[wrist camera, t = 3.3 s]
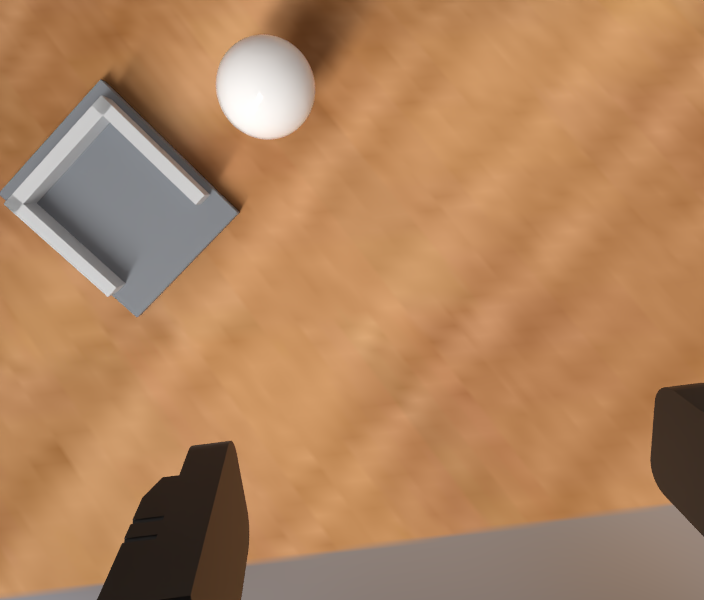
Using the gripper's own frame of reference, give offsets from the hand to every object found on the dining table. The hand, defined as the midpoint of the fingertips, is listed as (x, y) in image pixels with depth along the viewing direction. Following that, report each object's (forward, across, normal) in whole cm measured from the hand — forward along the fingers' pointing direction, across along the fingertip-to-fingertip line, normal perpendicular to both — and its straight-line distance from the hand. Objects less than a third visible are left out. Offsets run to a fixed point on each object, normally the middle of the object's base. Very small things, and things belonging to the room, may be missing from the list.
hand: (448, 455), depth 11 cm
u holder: (+37, +17, -2) cm, 41 cm away
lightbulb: (+38, +4, -8) cm, 39 cm away
